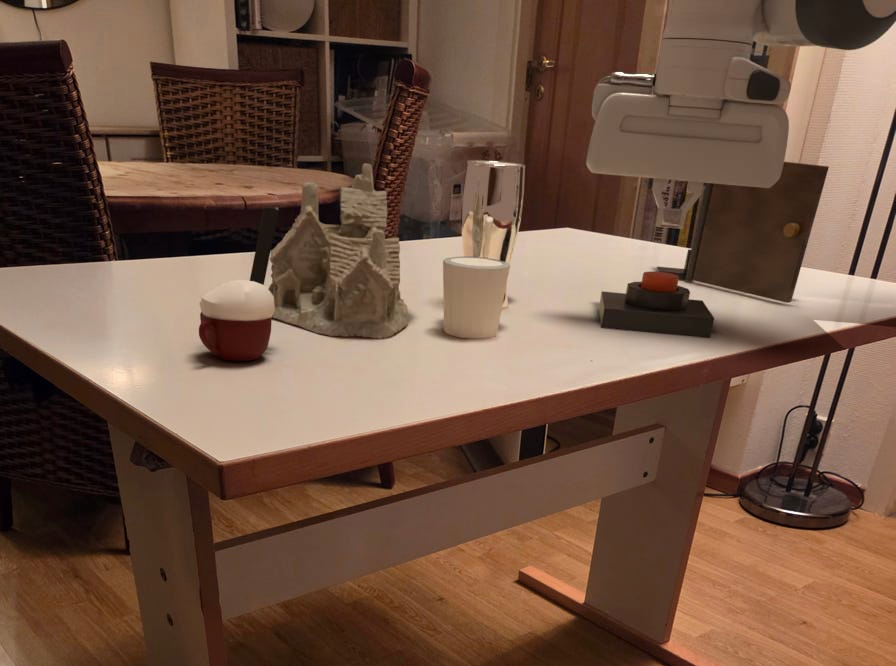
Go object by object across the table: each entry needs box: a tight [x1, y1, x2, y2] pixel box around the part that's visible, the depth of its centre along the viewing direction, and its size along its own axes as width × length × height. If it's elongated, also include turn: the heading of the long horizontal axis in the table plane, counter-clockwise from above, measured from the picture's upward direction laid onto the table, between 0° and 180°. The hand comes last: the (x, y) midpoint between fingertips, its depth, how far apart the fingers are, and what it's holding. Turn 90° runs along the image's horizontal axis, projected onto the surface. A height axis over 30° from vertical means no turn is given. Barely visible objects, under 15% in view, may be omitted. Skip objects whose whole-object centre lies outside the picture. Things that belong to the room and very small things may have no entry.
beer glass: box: [460, 159, 526, 310], centre depth 100 cm, size 7×7×15 cm
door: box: [685, 160, 830, 304], centre depth 116 cm, size 18×2×16 cm, turn 35°
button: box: [641, 271, 680, 292], centre depth 98 cm, size 4×4×2 cm
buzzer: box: [598, 281, 715, 339], centre depth 99 cm, size 12×10×4 cm
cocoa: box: [198, 205, 280, 362], centre depth 75 cm, size 10×6×12 cm, turn 126°
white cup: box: [442, 255, 511, 339], centre depth 89 cm, size 7×7×7 cm
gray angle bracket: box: [655, 249, 693, 282], centre depth 128 cm, size 5×4×4 cm
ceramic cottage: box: [268, 163, 409, 340], centre depth 89 cm, size 16×16×15 cm
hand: (669, 227), depth 95 cm, fingers closed
